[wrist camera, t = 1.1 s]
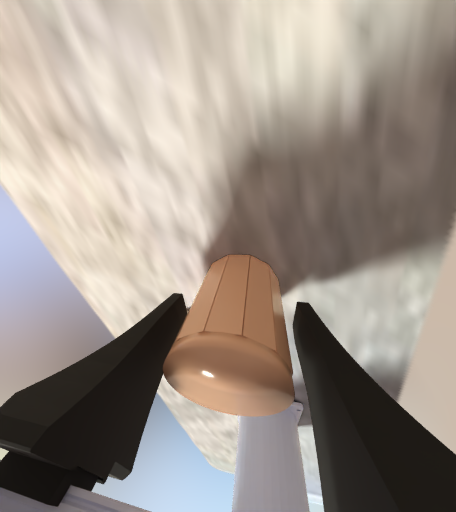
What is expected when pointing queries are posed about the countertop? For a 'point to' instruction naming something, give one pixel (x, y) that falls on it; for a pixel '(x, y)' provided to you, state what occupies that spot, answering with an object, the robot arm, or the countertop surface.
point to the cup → (234, 342)
